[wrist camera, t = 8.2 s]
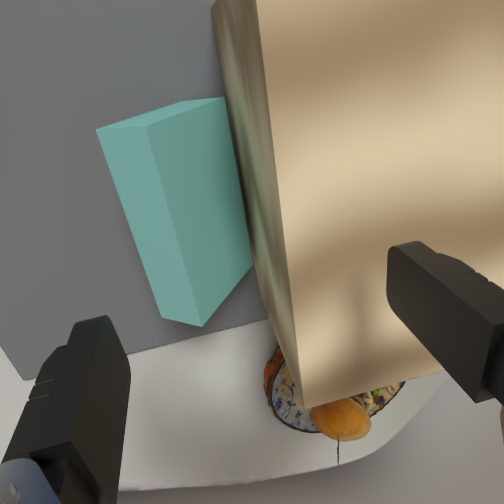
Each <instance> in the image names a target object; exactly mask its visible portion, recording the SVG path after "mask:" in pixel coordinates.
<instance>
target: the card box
mask: <svg viewBox="0 0 504 504" xmlns="http://www.w3.org/2000/svg"><path fill="white" fill-rule="evenodd" d="M96 132H97V135H98V138H99V141H100V144H101V147H102V149H103V152H104V155H105V158H106V161H107V164H108V166H109V169H110V172H111V175H112V178H113V181H114V184H115V186H116V189H117V192H118V195H119V198H120V201H121V203H122V206H123V209H124V212H125V215H126V218H127V221H128V223H129V226H130V229H131V232H132V235H133V238H134V240H135V243H136V246H137V249H138V252H139V255H140V257H141V260H142V263H143V266H144V269H145V272H146V275H147V277H148V280H149V283H150V286H151V289H152V292H153V294H154V297H155V300H156V303H157V306H158V309H159V312H160V314H161V317H162V318H166V319H170V320H175V321H179V322H183V323H187V324H192V325H196V326H200V327H202V326H203V325H204V324H205V323H206V322H207V320H208V319H209V318H210V317H211V315H212V314H213V313H214V312H215V310H216V309H217V308H218V307H219V306H220V304H221V303H222V302H223V301H224V299H225V298H226V297H227V296H228V294H229V293H230V292H231V291H232V289H233V288H234V287H235V286H236V285H237V283H238V282H239V281H240V280H241V278H242V277H243V276H244V275H245V273H246V272H247V271H248V270H249V268H250V267H251V266H252V265H253V261H252V255H251V249H250V243H249V237H248V231H247V226H246V220H245V214H244V208H243V202H242V197H241V191H240V185H239V179H238V173H237V167H236V162H235V156H234V150H233V144H232V138H231V133H230V127H229V121H228V115H227V109H226V104H225V98H224V97H218V98H208V99H198V100H189V101H181V102H178V103H175V104H172V105H169V106H166V107H163V108H160V109H157V110H153V111H150V112H147V113H144V114H141V115H138V116H135V117H132V118H129V119H126V120H123V121H120V122H117V123H114V124H111V125H108V126H105V127H102V128H99V129H96Z"/></svg>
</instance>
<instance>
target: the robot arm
mask: <svg viewBox="0 0 504 504" xmlns="http://www.w3.org/2000/svg"><path fill="white" fill-rule="evenodd" d="M386 296H387V300H388V303H389V306H390V308H391V309H392V311H393V312H394V313H395V315H396V316H397V317H398V318H399V319H400V320H401V321H402V322H403V323H404V325H405V326H406V327H407V328H408V329H409V330H410V331H411V332H412V333H413V335H414V336H415V337H416V338H417V339H418V340H419V341H420V342H421V343H422V345H423V346H424V347H425V348H426V349H427V350H428V351H429V352H430V353H431V354H432V356H433V357H434V358H435V359H436V360H437V361H438V362H439V363H440V364H441V366H442V367H443V368H444V369H445V370H446V371H447V372H448V373H449V374H450V376H451V377H452V378H453V379H454V380H455V381H456V382H457V383H458V384H459V386H460V387H461V388H462V389H463V390H464V391H465V392H466V393H467V394H468V395H469V396H470V398H471V399H472V400H473V401H474V402H475V403H479V402H482V401H485V400H489V399H492V398H496V399H497V400H498V401H499V402H500V403H501V404H502V407H501V410H500V419H501V427H502V434H503V441H504V289H502V288H501V287H499V286H498V285H496V284H495V283H493V282H492V281H490V282H489V281H488V278H486V277H485V276H483V275H482V274H480V273H479V272H478V273H476V272H475V270H474V269H473V268H471V267H470V266H468V265H467V264H465V263H464V262H462V261H461V260H459V259H456V258H453V257H451V256H448V255H445V254H442V253H436V252H435V251H434V250H432V249H431V248H429V247H428V246H427V245H425V244H424V243H422V242H421V241H417V240H416V241H412V242H408V243H404V244H400V245H395V246H392V247H390V248H389V250H388V255H387V279H386ZM130 383H131V371H130V365H129V361H128V358H127V355H126V353H125V351H124V349H123V346H122V344H121V342H120V339H119V337H118V335H117V333H116V330H115V328H114V326H113V324H112V321H111V320H110V318H109V317H108V316H107V315H104V316H99V317H95V318H91V319H87V320H83V321H79V322H76V323H75V324H74V326H73V328H72V331H71V334H70V337H69V339H68V342H67V345H63V346H59V347H57V348H56V349H55V350H54V351H53V353H52V354H51V355H50V356H49V357H48V358H47V360H46V361H45V362H44V363H43V364H42V367H41V369H40V371H39V374H38V376H37V379H36V381H35V386H33V388H32V391H31V393H30V395H29V401H27V403H26V405H25V407H24V410H23V412H22V415H21V417H20V419H19V422H18V424H17V427H16V429H15V431H14V434H13V436H12V438H11V441H10V443H9V446H8V448H7V450H6V453H5V455H4V458H3V460H2V462H1V464H0V504H116V502H117V493H118V485H119V476H120V468H121V460H122V451H123V443H124V434H125V426H126V417H127V409H128V400H129V392H130Z"/></svg>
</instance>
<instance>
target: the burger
mask: <svg viewBox="0 0 504 504" xmlns="http://www.w3.org/2000/svg"><path fill="white" fill-rule="evenodd" d="M264 380H265V384H264V383H263V384H264V389H265V393H266V395H267V397H268V403H269V406H271V408H272V410H273V413H274V415H275V416H276V417H277V418H278V419H279V420H280V421H281V422H282V423H283V424H285V425H287V426H289V427H290V428H292V429H295V430H299V431H302V432H307V433H321V432H322V433H323V434H324V435H326V436H328V437H330V438H332V439H334V440H338V447H337V454H338V456H337V457H338V465H339V441H345V442H346V441H353V440H356V439H360V438H362V437H364V436H365V435H367V433H368V432H369V430H370V428H371V421H370V417H372V416H374V415H376V414H377V412H379V411H380V410H382V409H383V408H384V407H385V406H386V405H387V404H388V403H389V402H390V401H391V400H392V399H393V398H394V397H395V396H396V395H397V393H398V392H399V390H400V389H401V388H402V387H403V385H404V384H405V381H403V382H399V383H396V384H392V385H389V386H385V387H382V388H378V389H375V390H371V391H368V392H365V393H361V394H358V395H354V396H351V397H347V398H344V399H340V400H337V401H333V402H330V403H326V404H323V405H319V406H316V407H312V408H309V409H304V407H303V404H302V402H301V399H300V397H299V394H298V391H297V389H296V386H295V384H294V381H293V379H292V376H291V374H290V371H289V368H288V366H287V363H286V361H285V358H284V356H283V353H282V351H281V348H279V349H277V350H276V356H275V357H274V358H273V360H272V361H267V366H266V369H265V370H264Z"/></svg>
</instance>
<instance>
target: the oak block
mask: <svg viewBox="0 0 504 504" xmlns="http://www.w3.org/2000/svg"><path fill="white" fill-rule="evenodd" d="M211 13H212V19H213V25H214V30H215V36H216V42H217V48H218V54H219V60H220V65H221V71H222V77H223V83H224V89H225V95H226V100H227V106H228V112H229V118H230V124H231V130H232V135H233V141H234V147H235V153H236V159H237V165H238V170H239V176H240V182H241V188H242V194H243V200H244V206H245V211H246V217H247V223H248V229H249V235H250V241H251V246H252V252H253V258H254V264H255V270H256V276H257V281H258V287H259V293H260V297H261V300H262V302H263V305H264V307H265V310H266V312H267V315H268V318H269V320H270V323H271V325H272V328H273V330H274V333H275V335H276V338H277V340H278V343H279V346H280V348H281V351H282V353H283V356H284V358H285V361H286V363H287V366H288V368H289V371H290V374H291V376H292V379H293V381H294V384H295V386H296V389H297V391H298V394H299V397H300V399H301V402H302V404H303V407H304V409H309V408H312V407H316V406H319V405H323V404H326V403H330V402H333V401H337V400H340V399H344V398H347V397H351V396H354V395H358V394H361V393H365V392H368V391H371V390H375V389H378V388H382V387H385V386H389V385H392V384H396V383H399V382H403V381H406V380H410V379H413V378H417V377H420V376H424V375H427V374H431V373H434V372H438V371H441V370H445V369H444V368H443V367H442V366H441V364H440V363H439V362H438V361H437V360H436V359H435V358H434V357H433V356H432V354H431V353H430V352H429V351H428V350H427V349H426V348H425V347H424V346H423V345H422V343H421V342H420V341H419V340H418V339H417V338H416V337H415V336H414V335H413V333H412V332H411V331H410V330H409V329H408V328H407V327H406V326H405V325H404V323H403V322H402V321H401V320H400V319H399V318H398V317H397V316H396V315H395V313H394V312H393V311H392V309H391V308H390V306H389V303H388V300H387V296H386V279H387V255H388V250H389V248H390V247H392V246H395V245H400V244H404V243H408V242H412V241H416V240H417V241H421V242H422V243H424V244H425V245H427V246H428V247H429V248H431V249H432V250H434V251H435V252H436V253H442V254H445V255H448V256H451V257H453V258H456V259H459V260H461V261H462V262H464V263H465V264H467V265H468V266H470V267H471V268H473V269H474V270H475V272H476V273H478V272H479V273H480V274H482V275H483V276H485V277H486V278H488V281H489V282H490V281H492V282H493V283H495V284H496V285H498V286H499V287H501V288H502V289H504V0H216V1H215V3H214V4H213V5H212V7H211Z"/></svg>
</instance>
